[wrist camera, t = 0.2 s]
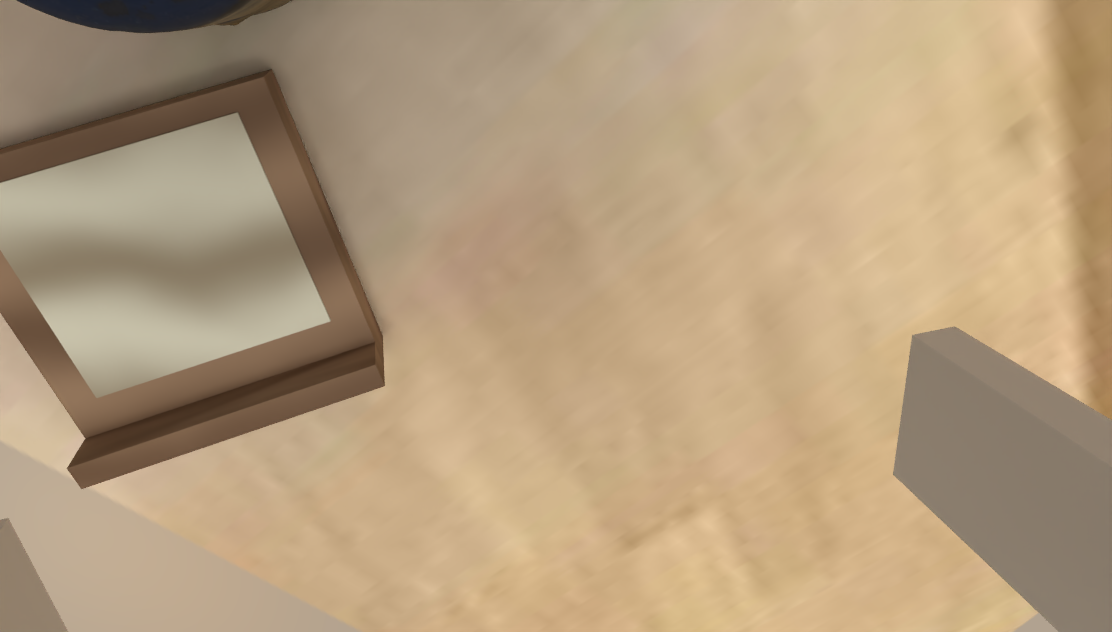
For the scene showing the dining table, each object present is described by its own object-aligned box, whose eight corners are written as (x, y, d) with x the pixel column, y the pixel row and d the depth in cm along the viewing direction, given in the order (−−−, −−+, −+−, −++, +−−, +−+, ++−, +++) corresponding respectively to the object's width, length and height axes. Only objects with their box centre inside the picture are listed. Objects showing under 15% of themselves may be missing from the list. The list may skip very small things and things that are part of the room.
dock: (-51, 163, 31) (-126, 196, 27) (272, 69, 33) (255, 84, 28) (117, 424, 38) (81, 488, 33) (382, 336, 39) (384, 386, 34)
